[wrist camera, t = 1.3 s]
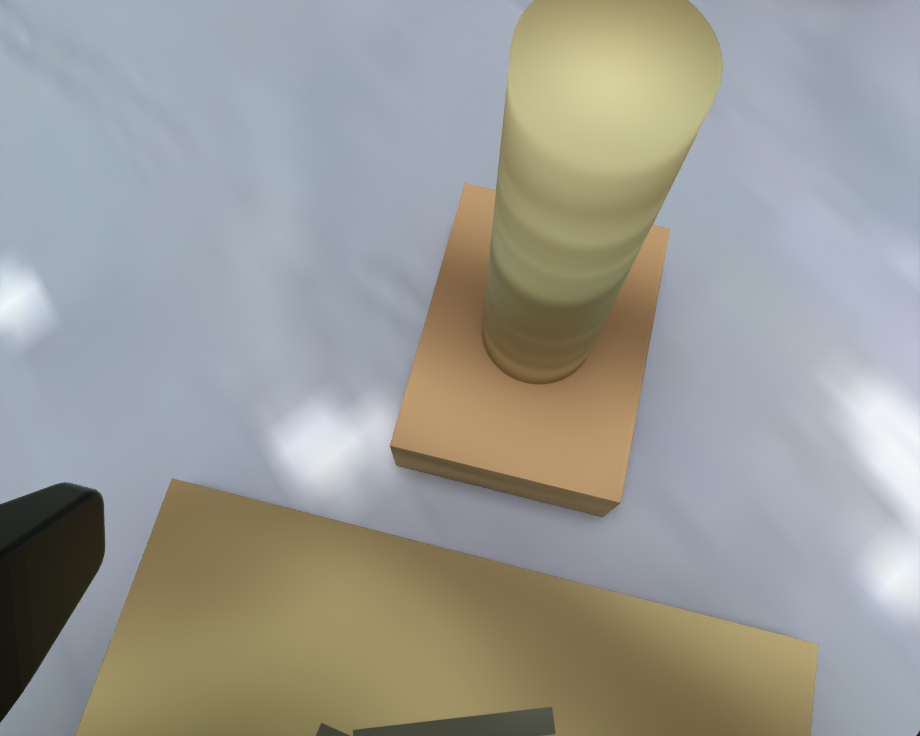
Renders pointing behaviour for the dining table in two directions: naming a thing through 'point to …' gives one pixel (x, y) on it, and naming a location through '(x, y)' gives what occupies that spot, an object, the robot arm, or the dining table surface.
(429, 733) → the board
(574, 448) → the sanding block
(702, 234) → the dining table surface
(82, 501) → the robot arm
